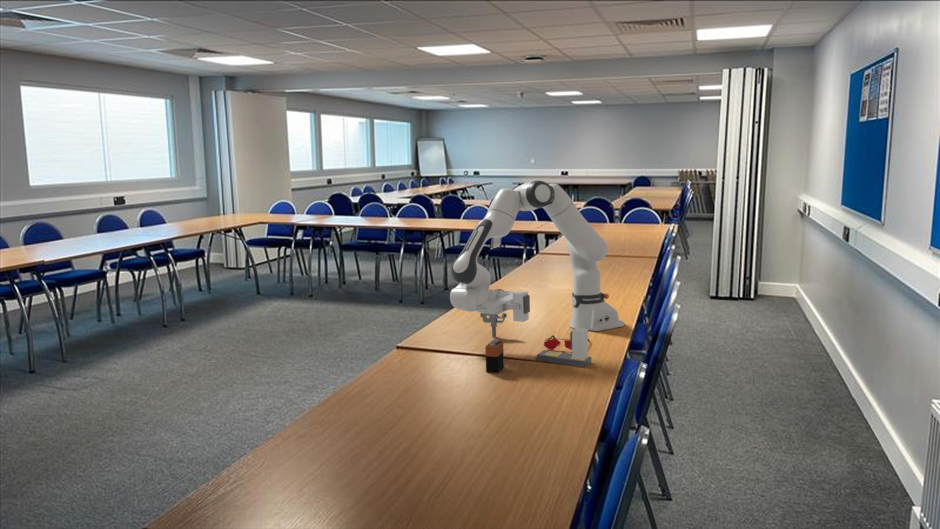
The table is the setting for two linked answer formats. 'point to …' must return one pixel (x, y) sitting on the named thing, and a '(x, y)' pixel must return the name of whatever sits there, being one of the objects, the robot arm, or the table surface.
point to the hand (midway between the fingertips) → (522, 305)
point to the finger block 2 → (579, 343)
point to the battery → (494, 356)
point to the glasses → (556, 343)
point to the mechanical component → (493, 320)
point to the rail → (562, 358)
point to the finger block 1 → (521, 306)
